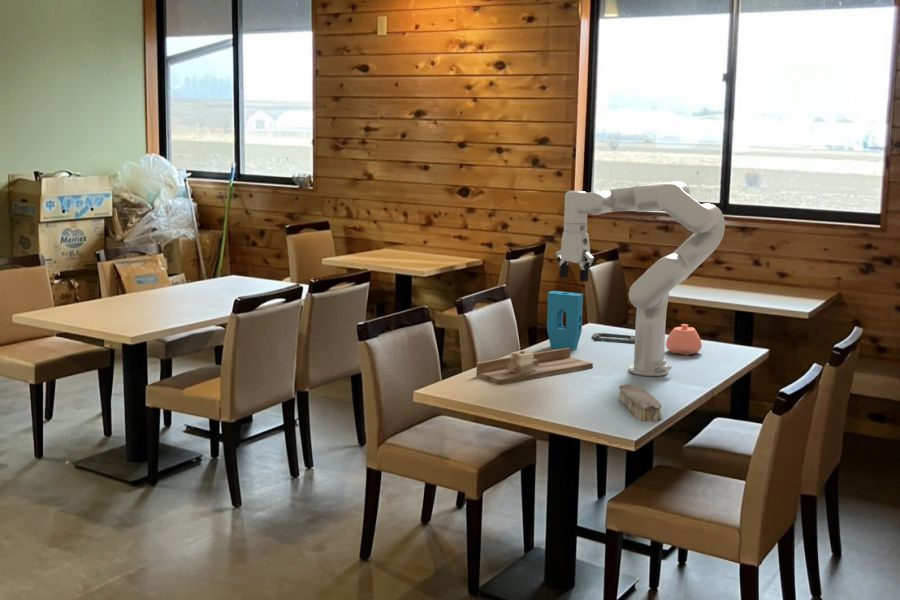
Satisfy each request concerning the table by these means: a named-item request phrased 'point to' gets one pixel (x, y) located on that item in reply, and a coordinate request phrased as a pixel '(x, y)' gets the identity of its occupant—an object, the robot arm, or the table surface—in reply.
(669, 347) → the sugar bowl
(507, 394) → the table surface
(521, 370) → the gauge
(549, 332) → the block
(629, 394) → the beige mottled oblong part
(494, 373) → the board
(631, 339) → the c clamp
